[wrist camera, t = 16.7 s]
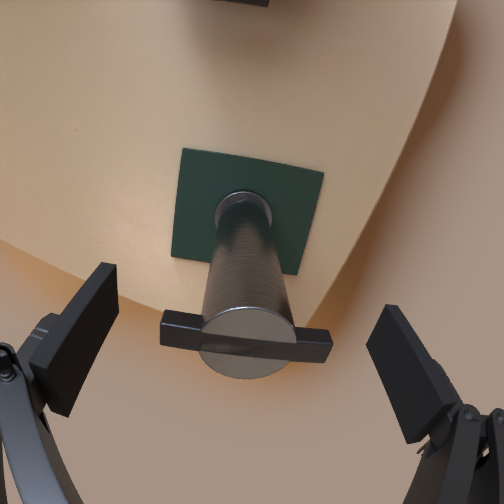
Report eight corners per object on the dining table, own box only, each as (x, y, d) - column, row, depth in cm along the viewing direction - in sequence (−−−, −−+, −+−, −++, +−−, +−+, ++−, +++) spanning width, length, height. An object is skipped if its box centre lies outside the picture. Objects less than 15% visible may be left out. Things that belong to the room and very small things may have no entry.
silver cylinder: (288, 196, 25) (349, 309, 11) (276, 247, 27) (312, 389, 13) (207, 182, 25) (160, 283, 10) (199, 235, 27) (159, 373, 12)
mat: (323, 172, 25) (324, 173, 25) (296, 273, 29) (296, 275, 29) (183, 147, 24) (182, 148, 23) (171, 254, 28) (170, 256, 27)
